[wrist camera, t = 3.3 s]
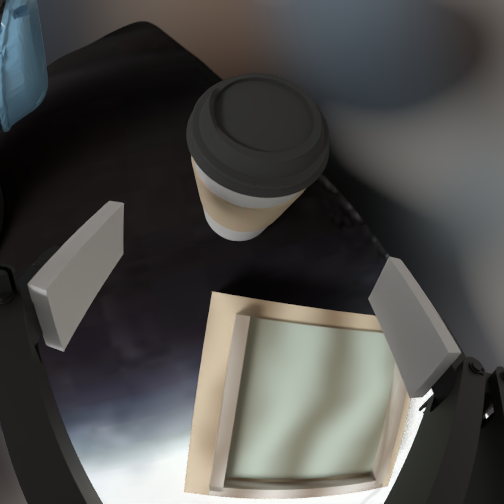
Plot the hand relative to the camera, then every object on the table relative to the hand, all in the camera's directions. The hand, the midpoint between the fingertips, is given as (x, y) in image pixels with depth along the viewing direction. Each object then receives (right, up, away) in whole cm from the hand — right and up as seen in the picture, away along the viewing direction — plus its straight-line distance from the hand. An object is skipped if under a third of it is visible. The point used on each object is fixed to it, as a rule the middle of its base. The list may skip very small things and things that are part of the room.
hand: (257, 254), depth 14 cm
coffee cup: (-2, +4, +16) cm, 16 cm away
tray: (+4, -14, +12) cm, 19 cm away
